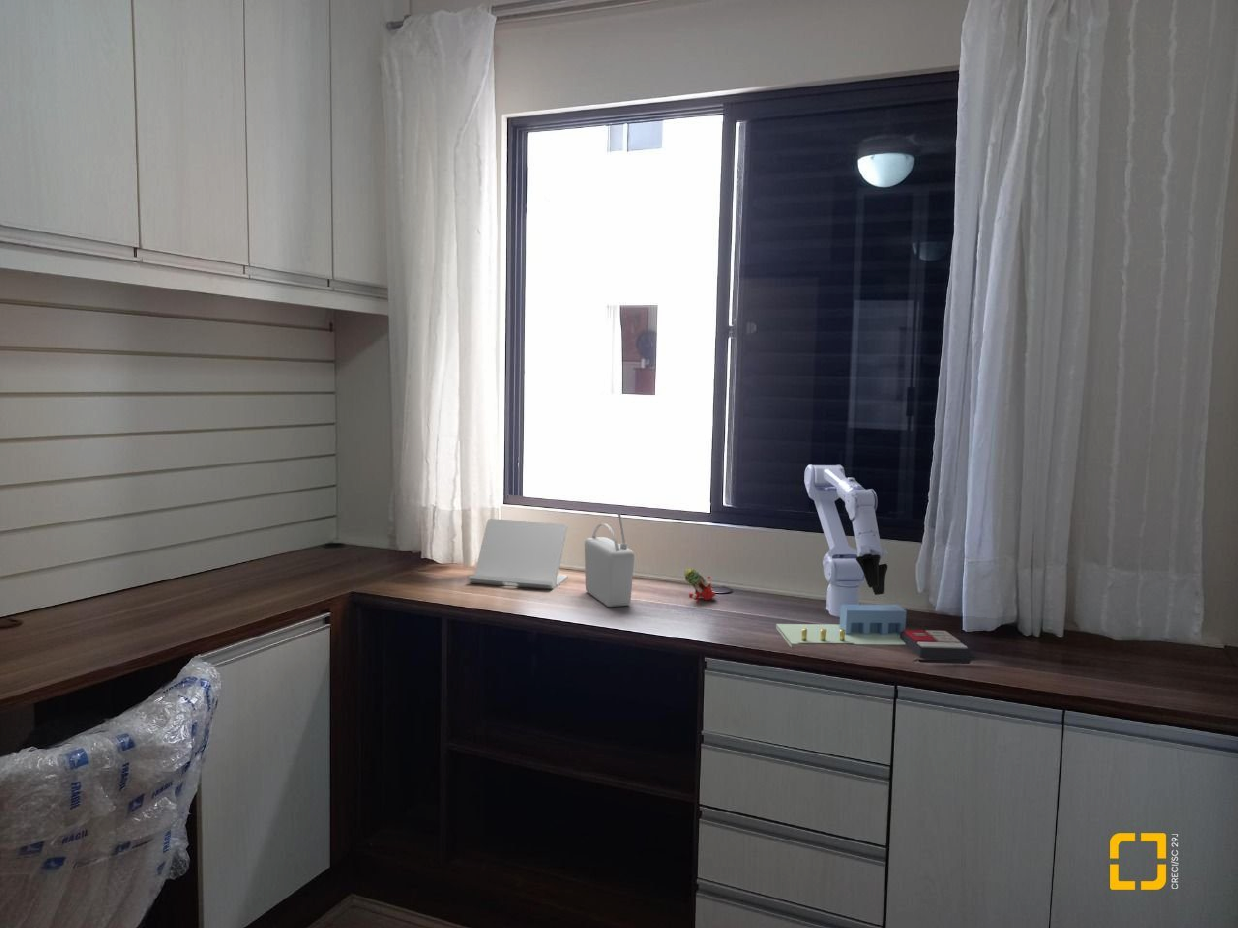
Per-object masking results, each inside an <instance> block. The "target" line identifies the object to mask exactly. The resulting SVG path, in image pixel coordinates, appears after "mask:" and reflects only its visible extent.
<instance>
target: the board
mask: <svg viewBox="0 0 1238 928" xmlns="http://www.w3.org/2000/svg"><path fill="white" fill-rule="evenodd" d="M839 626H840V624H835V623H834V624H833V623H832V624H829V623H828V624H827V623H824V624H822V623H821V624H820V623H819V624H818V623H817V624H814V623H812V624H811V623H810V624H807V623H806V624H805V623H776V624H775V628H776V630H777V631H778V633H779V634H780V635H781V636H782V637H783V639H784V640H785V641H786V643H787V644H788V645H789V647H790V648H795V647H794V646H793V644H794V645H795V644H797V645H800V644H801V645H803V643H854V644H853V645H900V646H901V645H903V646H908V645H907V644H906V643H905V642H904V641H903V640H902V639H901V638H900V635H899V634H898V633H897V632H888V635H881V634H880V633H879V632H869V635H863V634H862V633H860V632H851V635H846V634H845V641H840V629H839ZM802 629H807V641H802V640H801V637H802ZM821 629H825V630H826V641H821V640H820V639H821Z"/></svg>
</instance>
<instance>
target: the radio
mask: <svg viewBox="0 0 1238 928" xmlns="http://www.w3.org/2000/svg"><path fill="white" fill-rule="evenodd" d="M616 514H617V517H618V518H617V519H618V523H619V529H620V535H621V540H622V541H621V542H620V543H618V539H617V536H616V533H615V532H614V530H613V528H612V526H610V525H609V524H608V523H603V522H602V523H599V524H598V525H596V527H595V529H593V533H592V537H588V538H586V539H585V541H584V562H585V563H584V564H585V565H584V567H585V568H584V570H585V571H584V572H585V574H584V575H585V590H586V592H587V593H588V594H589V595H591V596H592V597H593V598H595V599H596V600H598V601H599V602H600V603H602V604H603V605H605V606H606V607H608V608H615V607H616V608H617V607H618V608H619V607H628V606H630V604H631V602H632V601H631V599H632V591H633V590H632V589H633V575H634V565H635V553H634V551H633V550H632V549H630V548H628V543H627V542H626V541H625V535H624V529H623V523H622V518H621V517H622V516H621V511H620V510H618V511H617V512H616ZM602 525H605V527H606V528H607V529H608V531H609V532H610V535H611V537H612V539H613V540H612V539H611V538H608V537H607V536H606V537H605V536H599V537H596V535H597V533H598V531H599V528H600V527H602Z"/></svg>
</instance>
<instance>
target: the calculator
mask: <svg viewBox="0 0 1238 928" xmlns="http://www.w3.org/2000/svg"><path fill="white" fill-rule="evenodd" d="M900 638H901V639H902V640H903V641H904V642H905V643H906V644H907V645H906V646H907V647H908V648H910V650H912V652H914V653H915V655H916V656H918V658H920V659H918V658H917V659H916V660H917V661H918V662H919V663H921V664H952V665H953V664H956V665H970V664H971V663H970V661H971V648H969V647H968V645H966V644H965V643H963V642H961V640H960V639H958V638H957V637H955V636H953V635H952V634H950V633H949V632H948V631H946V630H927V629H926V630H925V631H924V630H923V629H905V630H903V631H901V632H900Z"/></svg>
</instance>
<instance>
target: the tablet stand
mask: <svg viewBox="0 0 1238 928" xmlns="http://www.w3.org/2000/svg"><path fill="white" fill-rule="evenodd" d="M567 528H568V525H567V524H566V523H555V522H541V521H540V522H539V521H526V520H525V521H523V520H512V519H511V520H510V519H509V520H508V519H497V518H496V519H493V518H489V519H488V520H487V521H486V525H485V528H484V534H483V538H482V540H481V541H482V542H481V545H480V549H479V553H478V558H477V562H476V566H475V570H474V572H473V573H474V574H469V575H468V578H467V579H468V581H470V583H474V584H475V583H476V584H487V585H499V586H508V587H520V588H521V587H523V588H533V589H547V590H555V589H556V588H557V587H558V586H560V585H561V584H562V583H564V582H565V581H566V580H568V579H569V576H568V575H565V574H559V570H560V566H561V559H562V556H563V550H564V546H565V545H564V544H565V541H566V535H567V530H568V529H567Z"/></svg>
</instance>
